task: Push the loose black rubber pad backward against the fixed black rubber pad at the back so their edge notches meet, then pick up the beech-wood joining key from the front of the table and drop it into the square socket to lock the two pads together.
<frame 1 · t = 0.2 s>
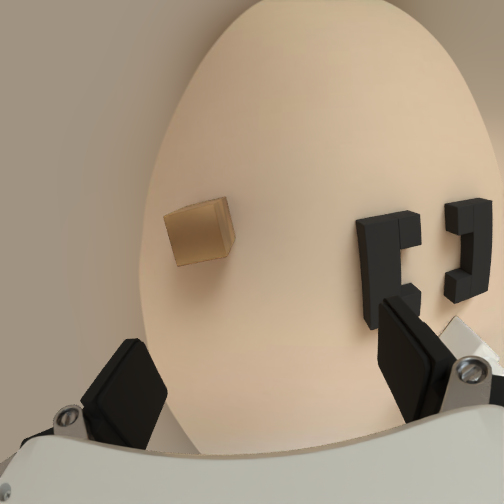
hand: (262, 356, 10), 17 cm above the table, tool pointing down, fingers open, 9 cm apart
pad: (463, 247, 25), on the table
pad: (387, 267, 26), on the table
joining key: (210, 221, 26), on the table
medicine bottle: (449, 343, 29), on the table
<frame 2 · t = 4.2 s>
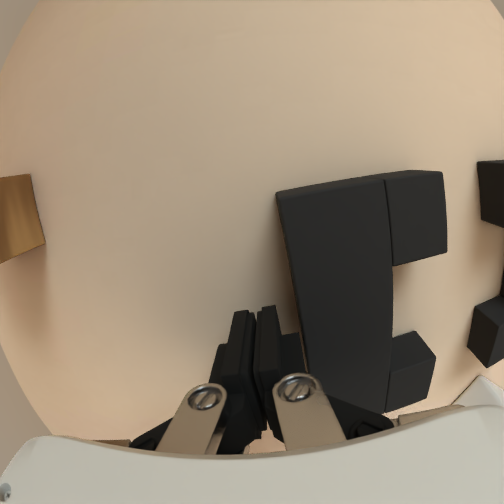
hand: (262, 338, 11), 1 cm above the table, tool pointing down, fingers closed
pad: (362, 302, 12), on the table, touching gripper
joining key: (19, 217, 11), on the table
medicine bottle: (463, 411, 14), on the table
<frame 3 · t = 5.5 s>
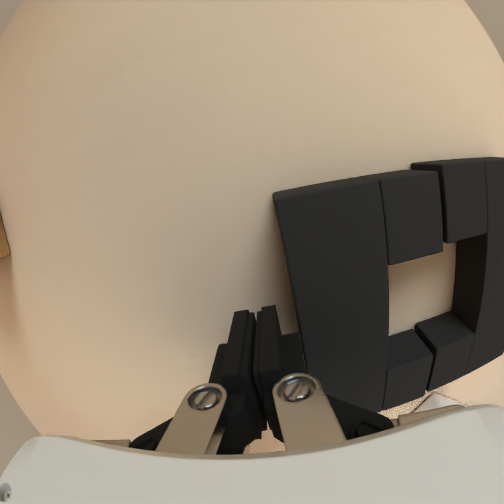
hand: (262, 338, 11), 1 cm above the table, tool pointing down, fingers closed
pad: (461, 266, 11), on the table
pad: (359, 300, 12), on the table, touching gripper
medicine bottle: (421, 427, 15), on the table
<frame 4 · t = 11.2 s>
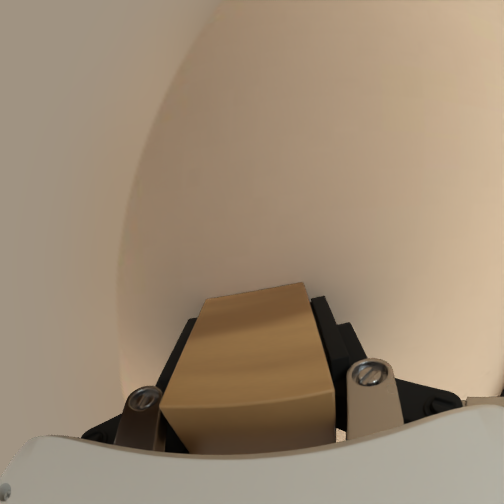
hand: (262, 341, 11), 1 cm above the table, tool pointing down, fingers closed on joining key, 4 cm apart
joining key: (263, 332, 11), on the table, touching gripper
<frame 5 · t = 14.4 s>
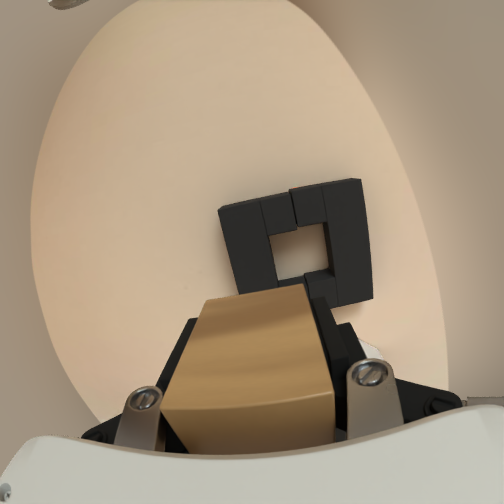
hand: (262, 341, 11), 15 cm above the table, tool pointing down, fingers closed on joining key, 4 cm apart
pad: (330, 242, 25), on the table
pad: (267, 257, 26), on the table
joining key: (263, 333, 11), point 14 cm above the table, touching gripper
medicine bottle: (337, 358, 29), on the table
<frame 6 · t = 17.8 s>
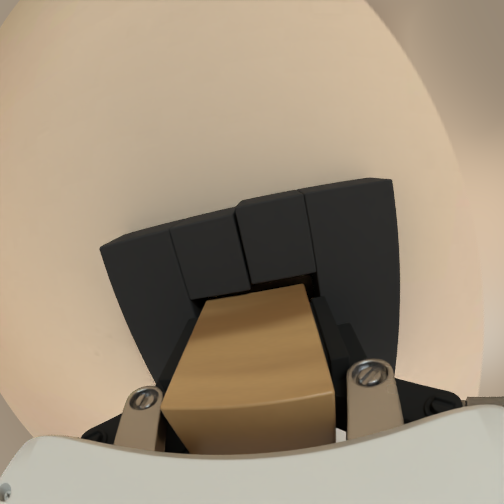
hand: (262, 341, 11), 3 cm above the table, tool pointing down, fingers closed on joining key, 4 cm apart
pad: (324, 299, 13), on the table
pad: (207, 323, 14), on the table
joining key: (263, 333, 11), point 2 cm above the table, touching gripper
when the fingers open (4 cm above the table, at t = 23.2 s): joining key drops 3 cm, on the table.
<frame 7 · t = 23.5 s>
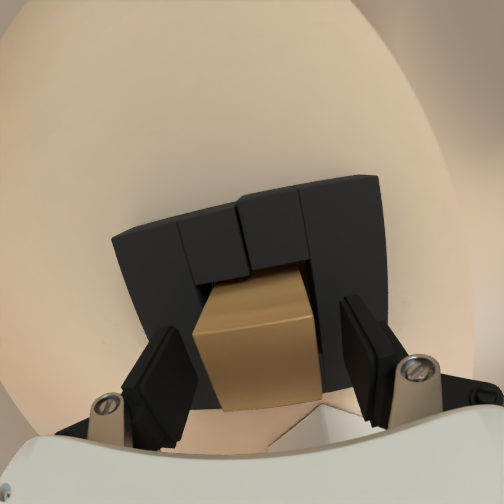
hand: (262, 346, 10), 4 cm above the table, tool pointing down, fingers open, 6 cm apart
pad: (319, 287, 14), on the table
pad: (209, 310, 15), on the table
joining key: (264, 299, 15), on the table
medicine bottle: (325, 435, 18), on the table
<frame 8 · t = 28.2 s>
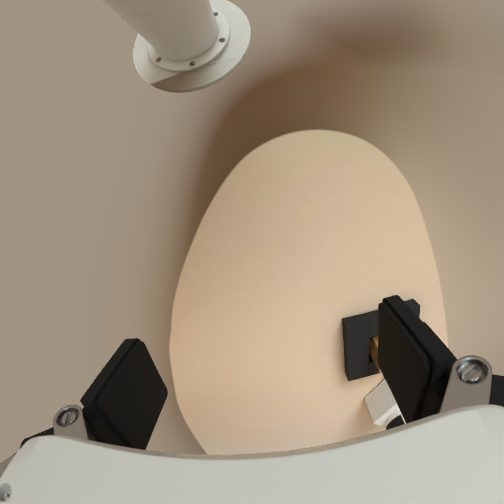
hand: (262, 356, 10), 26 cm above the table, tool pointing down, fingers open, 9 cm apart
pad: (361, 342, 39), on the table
joining key: (379, 337, 39), on the table
medicine bottle: (387, 390, 43), on the table
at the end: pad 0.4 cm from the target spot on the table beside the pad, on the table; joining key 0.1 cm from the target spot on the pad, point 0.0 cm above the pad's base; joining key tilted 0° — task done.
